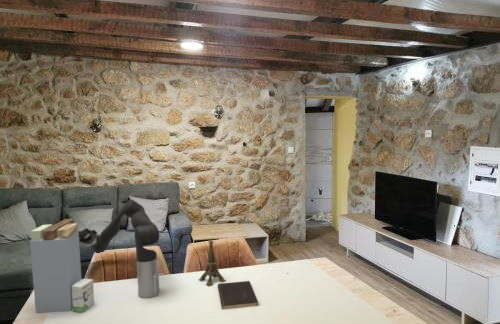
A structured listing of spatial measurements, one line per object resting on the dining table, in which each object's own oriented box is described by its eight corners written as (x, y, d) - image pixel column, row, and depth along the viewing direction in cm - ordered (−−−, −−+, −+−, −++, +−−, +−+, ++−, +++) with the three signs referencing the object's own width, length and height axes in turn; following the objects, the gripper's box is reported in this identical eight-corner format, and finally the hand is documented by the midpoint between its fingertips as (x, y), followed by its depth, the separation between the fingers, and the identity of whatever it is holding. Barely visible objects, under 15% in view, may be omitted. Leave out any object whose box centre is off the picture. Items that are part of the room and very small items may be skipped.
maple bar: (77, 231, 170) (76, 223, 169) (67, 238, 159) (66, 229, 159) (68, 232, 170) (68, 223, 169) (57, 239, 159) (57, 230, 158)
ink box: (85, 302, 168) (83, 277, 167) (95, 303, 167) (93, 278, 166) (72, 312, 160) (70, 285, 159) (82, 313, 159) (81, 286, 158)
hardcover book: (249, 285, 184) (249, 280, 184) (258, 306, 162) (258, 301, 162) (217, 288, 182) (217, 283, 182) (222, 310, 159) (221, 305, 159)
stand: (82, 297, 174) (78, 231, 171) (71, 311, 161) (66, 239, 158) (50, 299, 173) (45, 232, 170) (35, 312, 160) (30, 241, 157)
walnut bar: (74, 226, 179) (73, 218, 179) (53, 240, 158) (52, 231, 157) (65, 227, 179) (65, 218, 179) (43, 240, 157) (42, 231, 157)
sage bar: (52, 232, 169) (52, 224, 169) (41, 240, 158) (40, 230, 158) (44, 233, 169) (43, 224, 169) (31, 240, 158) (30, 231, 158)
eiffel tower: (215, 275, 197) (214, 229, 195) (226, 281, 189) (224, 233, 186) (198, 280, 191) (196, 233, 189) (208, 286, 183) (206, 237, 180)
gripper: (75, 231, 203) (63, 223, 188) (102, 230, 204) (91, 222, 189) (73, 245, 200) (61, 238, 185) (100, 244, 201) (90, 237, 186)
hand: (76, 230), depth 187 cm, fingers open, 8 cm apart
